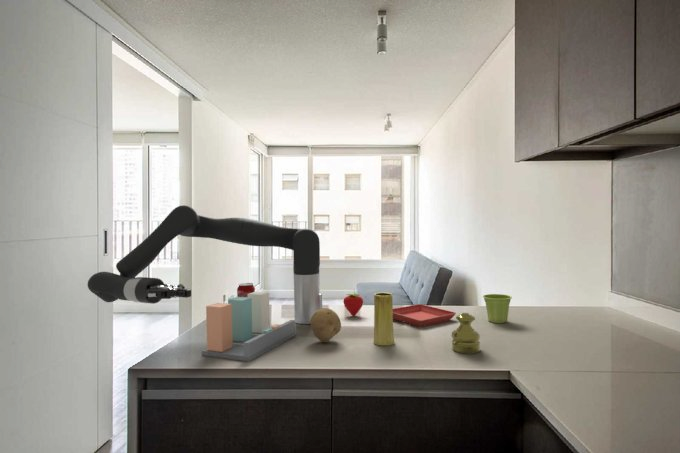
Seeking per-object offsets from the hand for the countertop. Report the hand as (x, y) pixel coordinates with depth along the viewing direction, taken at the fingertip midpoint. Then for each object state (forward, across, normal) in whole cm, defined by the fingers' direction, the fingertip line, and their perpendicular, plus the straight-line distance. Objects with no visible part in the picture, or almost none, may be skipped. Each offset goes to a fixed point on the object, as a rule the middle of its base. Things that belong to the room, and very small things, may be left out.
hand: (189, 293), depth 114 cm
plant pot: (+80, +60, +15) cm, 101 cm away
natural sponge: (+34, +19, +16) cm, 42 cm away
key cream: (+10, +19, +15) cm, 26 cm away
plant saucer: (+55, +55, +16) cm, 79 cm away
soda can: (-10, +42, +16) cm, 46 cm away
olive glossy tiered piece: (+73, +25, +16) cm, 79 cm away
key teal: (+10, +10, +15) cm, 20 cm away
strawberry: (+30, +52, +16) cm, 62 cm away
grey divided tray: (+14, +10, +16) cm, 23 cm away
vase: (+50, +24, +16) cm, 58 cm away
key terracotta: (+10, 0, +15) cm, 18 cm away
